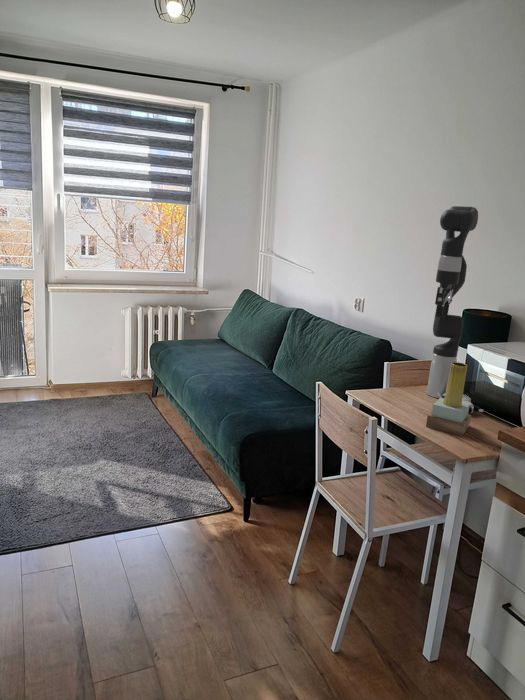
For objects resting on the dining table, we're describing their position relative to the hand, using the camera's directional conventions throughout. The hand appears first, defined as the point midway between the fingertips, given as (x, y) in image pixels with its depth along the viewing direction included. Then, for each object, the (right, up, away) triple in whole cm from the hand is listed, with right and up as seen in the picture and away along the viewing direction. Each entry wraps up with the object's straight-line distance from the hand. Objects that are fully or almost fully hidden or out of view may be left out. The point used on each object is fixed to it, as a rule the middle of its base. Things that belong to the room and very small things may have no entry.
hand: (441, 315), depth 195 cm
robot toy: (+12, -35, +16) cm, 40 cm away
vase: (+2, -31, -6) cm, 31 cm away
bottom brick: (+1, -38, -4) cm, 39 cm away
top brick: (+1, -34, -5) cm, 35 cm away
